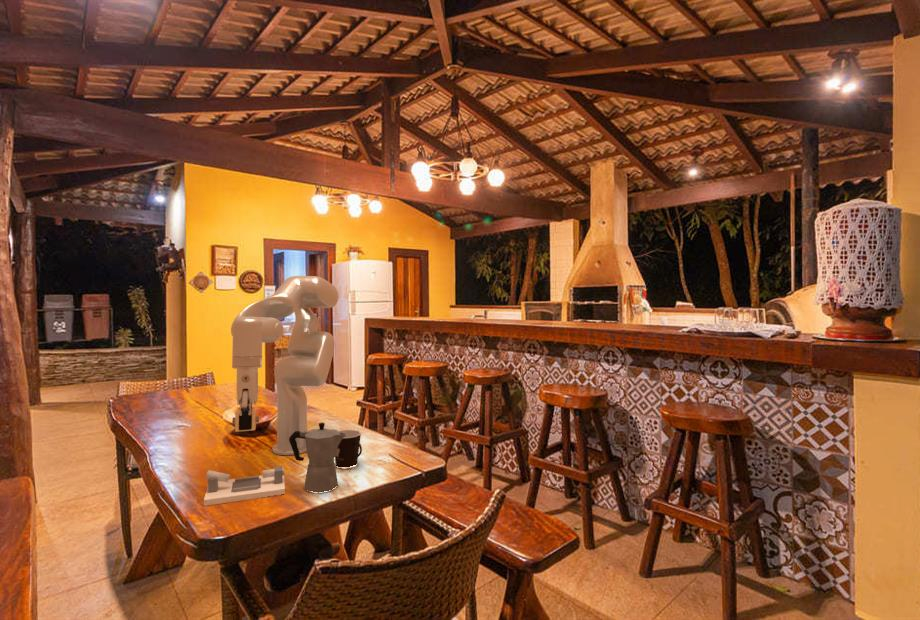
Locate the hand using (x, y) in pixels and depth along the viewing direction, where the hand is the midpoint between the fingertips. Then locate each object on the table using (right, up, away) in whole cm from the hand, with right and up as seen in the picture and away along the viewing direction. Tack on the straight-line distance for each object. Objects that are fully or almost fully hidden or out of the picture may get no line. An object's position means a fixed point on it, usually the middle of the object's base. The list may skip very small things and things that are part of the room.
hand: (245, 426), depth 129 cm
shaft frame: (+2, -16, -4) cm, 17 cm away
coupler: (0, -1, 0) cm, 1 cm away
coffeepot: (+20, -17, -1) cm, 26 cm away
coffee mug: (+25, -16, +14) cm, 33 cm away
